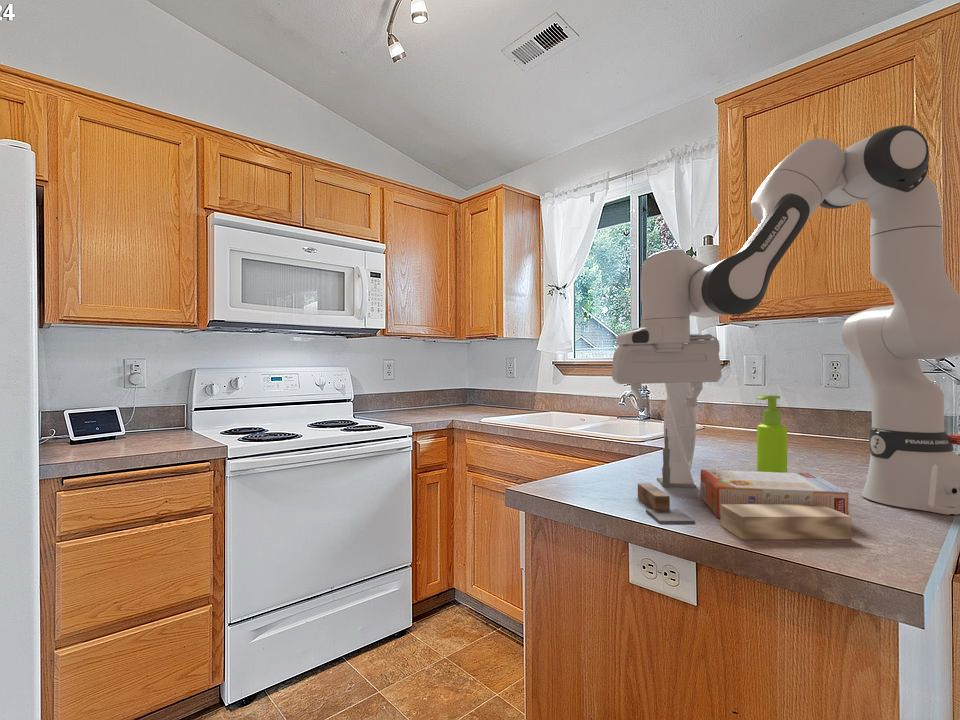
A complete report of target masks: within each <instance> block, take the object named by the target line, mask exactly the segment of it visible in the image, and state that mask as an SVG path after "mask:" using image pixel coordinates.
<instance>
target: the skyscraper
mask: <svg viewBox="0 0 960 720" xmlns="http://www.w3.org/2000/svg"><path fill="white" fill-rule="evenodd" d="M664 385H665V391H666V400H665V405H664V414H663V441H664V442H663V443H664V447H662V462H663V465H662V467H661V471H662V473H661V474H662V477H656V481H657V482H658V481H659V482H660V483H659V482H658V483H659V484H660V485H661V487H664V488H665V487H666V488H690V489H697V485H696V484H695V481H694V479H693V475H692V472H691V471H692V465H693V460H694V454H695V448H696V447H695V446H696V436H697V435H696V434H697V418H696V417H697V415H696V409H695V408H696V406H694V407H688V406H686V398H685V397H690V395H691V393H692V391H693V389H694V388H691V383H664Z"/></svg>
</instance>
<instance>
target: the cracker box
mask: <svg viewBox="0 0 960 720" xmlns="http://www.w3.org/2000/svg"><path fill="white" fill-rule="evenodd" d="M699 490H700V491H699V493H700V498H701V499H702V500H703V501H704V502H705V503H706V505H707V506H708V507H709V509H711V511H712V512H713V513H714V514H715V516H716V517H717V518H720V519H721V504H822V505H824V506H826V507H829V508H831V509H834V510H836V511H839V512H841V513H844V514H846V515H849V516H850V511H849V491H847V490H845V489H842V488H840V487H839V486H837V485H835V484H833V483H831V482H829V481H828V480H825V479H823V478H822V477H819V476H818V475H816V474H814V473H808V472H807V473H806V472H805V473H804V472H803V473H800V472H787V473H777V472H757V471H749V470H748V471H746V470H725V469H724V470H721V469H718V470H717V469H716V470H715V469H700V489H699Z"/></svg>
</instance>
